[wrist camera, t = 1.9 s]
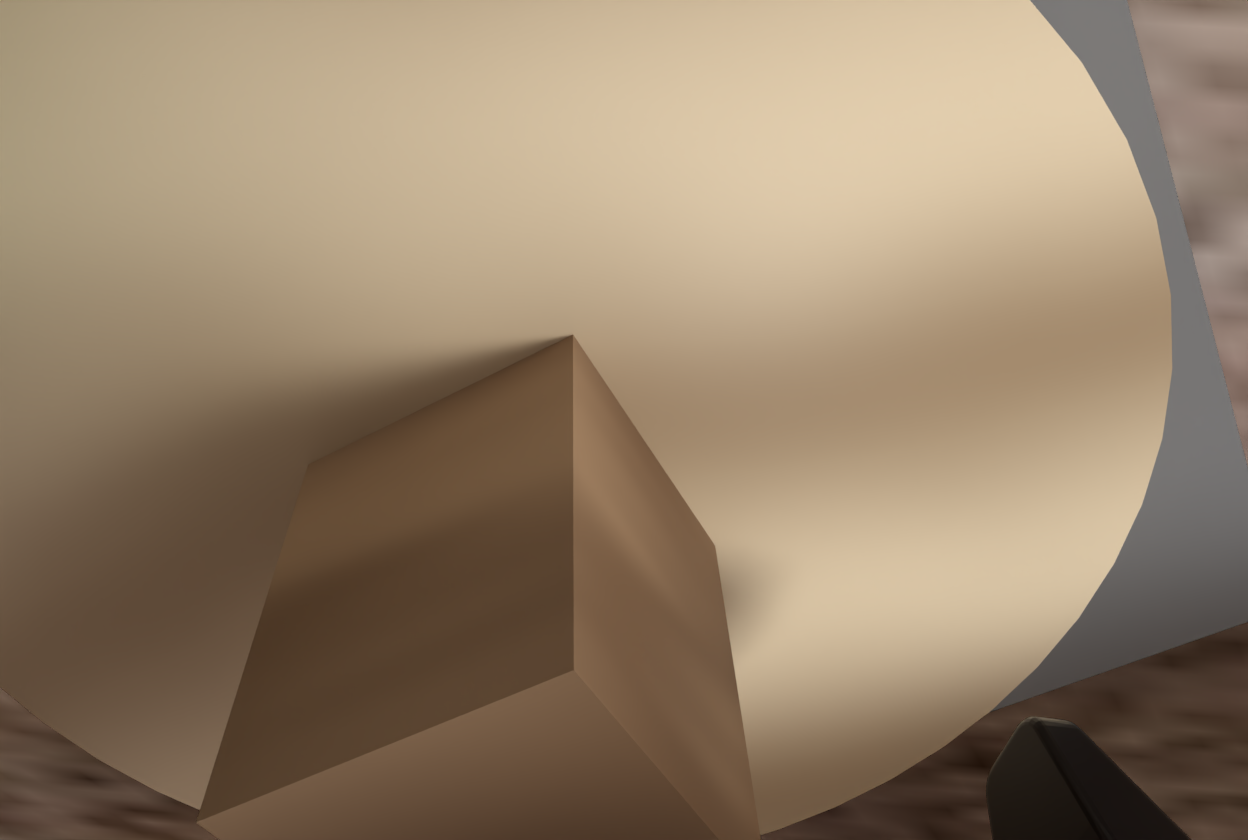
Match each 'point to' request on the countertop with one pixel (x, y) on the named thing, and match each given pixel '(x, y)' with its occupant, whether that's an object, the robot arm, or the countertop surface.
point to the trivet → (1194, 423)
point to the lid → (555, 399)
